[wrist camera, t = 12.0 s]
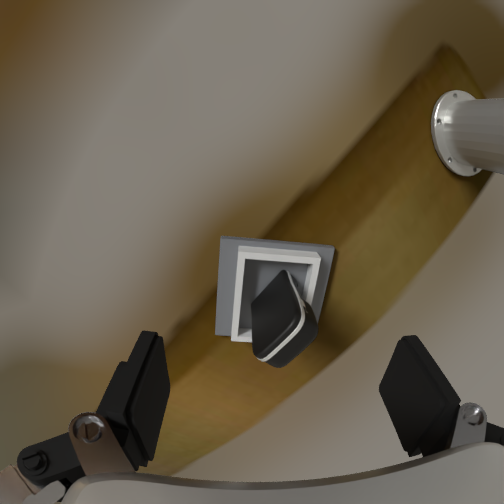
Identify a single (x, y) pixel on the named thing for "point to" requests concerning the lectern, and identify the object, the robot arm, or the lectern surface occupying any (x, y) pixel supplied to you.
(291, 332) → the battery charger
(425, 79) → the lectern surface
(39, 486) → the robot arm
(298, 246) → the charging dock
